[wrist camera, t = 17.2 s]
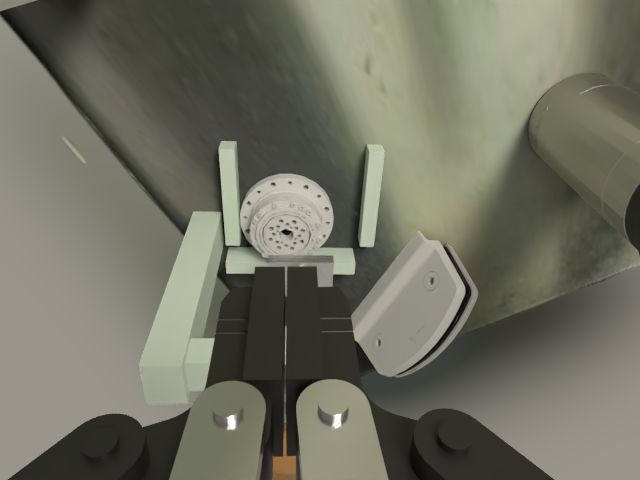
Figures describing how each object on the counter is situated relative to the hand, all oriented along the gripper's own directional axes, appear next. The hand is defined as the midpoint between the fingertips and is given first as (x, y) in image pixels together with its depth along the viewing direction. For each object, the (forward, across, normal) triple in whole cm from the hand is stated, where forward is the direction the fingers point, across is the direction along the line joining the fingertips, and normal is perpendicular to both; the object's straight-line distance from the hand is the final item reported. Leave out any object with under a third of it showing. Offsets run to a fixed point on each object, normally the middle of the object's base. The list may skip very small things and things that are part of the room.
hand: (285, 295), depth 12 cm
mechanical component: (+38, 0, +19) cm, 42 cm away
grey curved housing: (+37, -14, +30) cm, 50 cm away
